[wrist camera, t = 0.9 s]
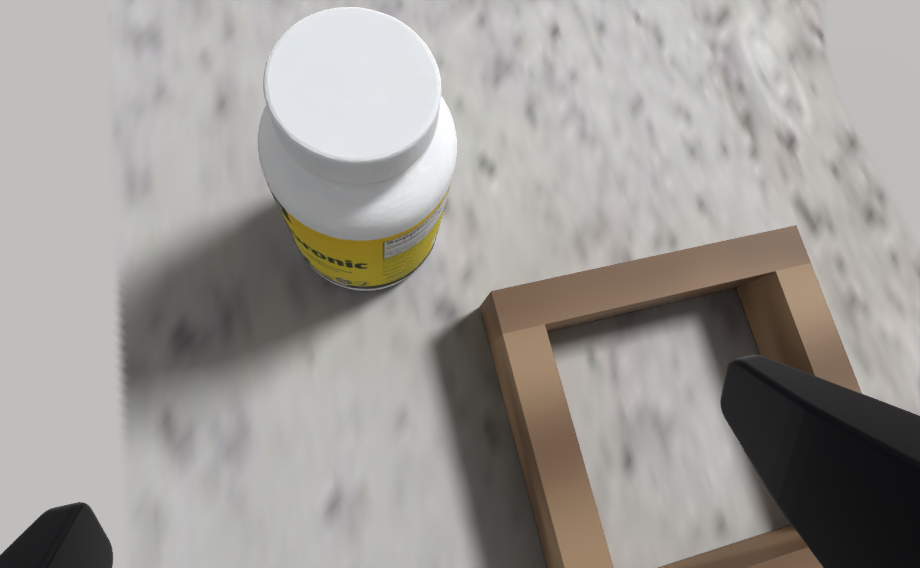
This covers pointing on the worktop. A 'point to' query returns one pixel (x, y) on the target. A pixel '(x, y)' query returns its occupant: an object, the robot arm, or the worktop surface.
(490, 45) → the worktop surface
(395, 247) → the supplement bottle
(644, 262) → the brown wooden frame
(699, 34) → the worktop surface
